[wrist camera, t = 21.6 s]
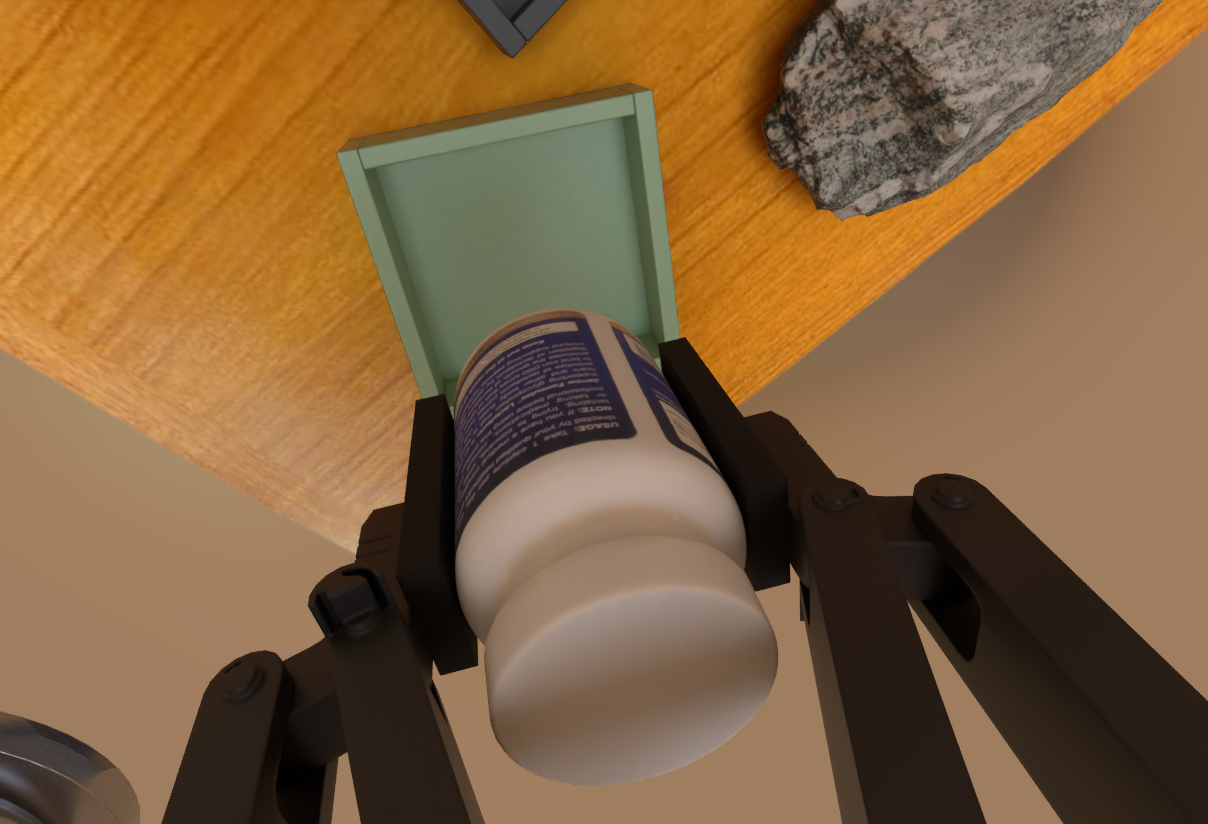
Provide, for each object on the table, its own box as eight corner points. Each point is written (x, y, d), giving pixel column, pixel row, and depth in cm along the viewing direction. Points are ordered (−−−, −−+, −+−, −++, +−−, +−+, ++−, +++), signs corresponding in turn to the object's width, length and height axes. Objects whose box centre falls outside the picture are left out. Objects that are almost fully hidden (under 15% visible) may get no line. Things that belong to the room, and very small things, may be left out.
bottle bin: (434, 391, 35) (431, 426, 32) (348, 139, 29) (335, 153, 26) (664, 338, 36) (684, 366, 33) (632, 83, 30) (653, 89, 27)
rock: (852, 284, 34) (879, 226, 24) (731, 150, 36) (711, 47, 26) (1180, 18, 31) (1363, -172, 21) (1028, -115, 32) (1132, -347, 23)
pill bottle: (439, 468, 19) (424, 815, 11) (473, 281, 17) (489, 540, 8) (626, 490, 21) (740, 805, 12) (683, 322, 18) (874, 573, 10)
